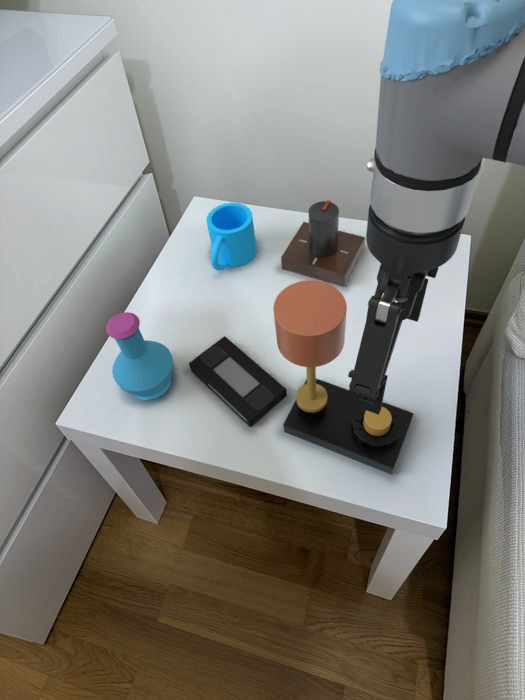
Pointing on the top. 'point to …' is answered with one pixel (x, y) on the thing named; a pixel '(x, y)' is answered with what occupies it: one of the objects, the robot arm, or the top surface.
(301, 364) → the lamp
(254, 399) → the vhs tape
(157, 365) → the perfume bottle
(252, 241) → the mug
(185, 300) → the top surface
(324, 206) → the dimmer
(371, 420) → the switch
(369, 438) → the lamp base
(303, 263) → the dimmer panel
